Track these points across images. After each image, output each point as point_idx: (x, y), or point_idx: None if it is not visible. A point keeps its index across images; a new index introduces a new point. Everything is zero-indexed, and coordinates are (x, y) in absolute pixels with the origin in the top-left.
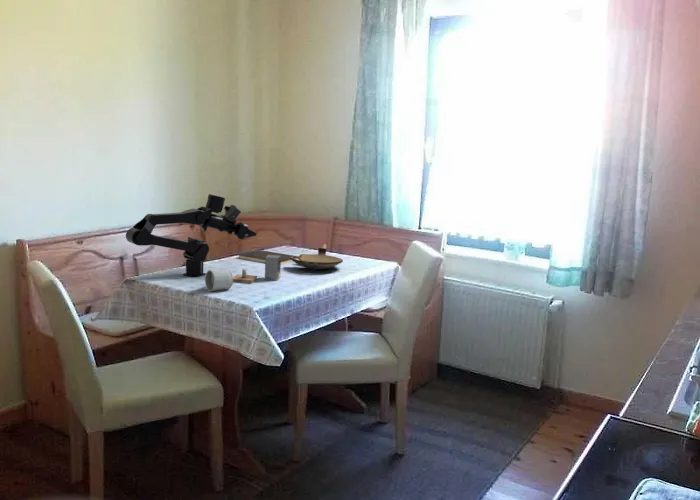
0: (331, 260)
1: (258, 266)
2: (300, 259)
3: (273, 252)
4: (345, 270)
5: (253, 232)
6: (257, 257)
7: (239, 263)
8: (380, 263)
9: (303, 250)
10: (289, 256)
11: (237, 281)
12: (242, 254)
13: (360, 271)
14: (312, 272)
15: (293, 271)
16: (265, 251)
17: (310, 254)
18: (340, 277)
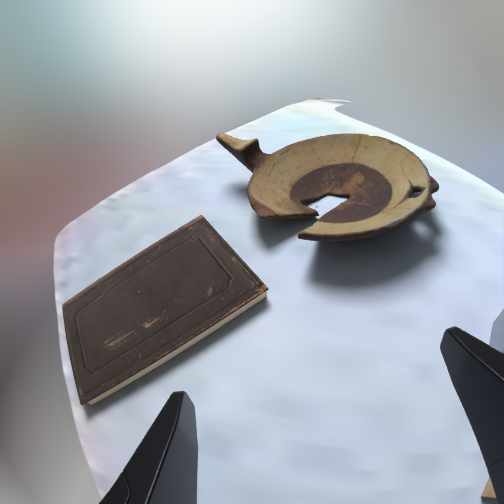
0: (307, 155)
1: (268, 384)
2: (282, 214)
3: (111, 274)
4: None
5: (491, 354)
6: (157, 351)
7: None
8: (296, 111)
9: (107, 206)
10: (189, 239)
11: None
12: (87, 387)
13: None
14: None
15: (388, 265)
16: (87, 293)
17: (251, 180)
18: (450, 175)
